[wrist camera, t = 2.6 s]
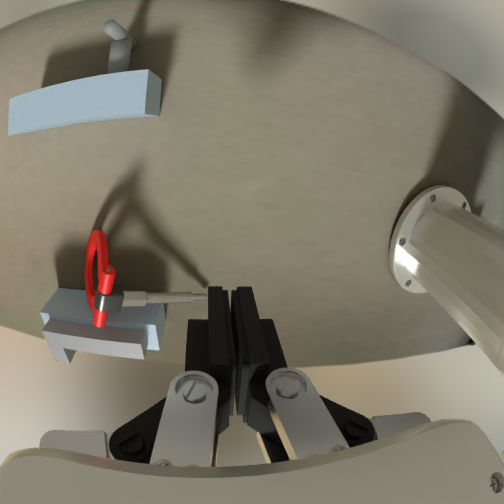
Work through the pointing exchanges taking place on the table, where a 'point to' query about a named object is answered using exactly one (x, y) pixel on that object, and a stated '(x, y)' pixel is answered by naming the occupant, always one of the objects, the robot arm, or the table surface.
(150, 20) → the table surface
